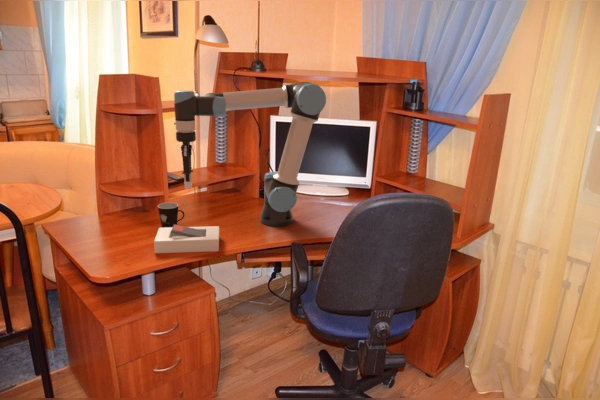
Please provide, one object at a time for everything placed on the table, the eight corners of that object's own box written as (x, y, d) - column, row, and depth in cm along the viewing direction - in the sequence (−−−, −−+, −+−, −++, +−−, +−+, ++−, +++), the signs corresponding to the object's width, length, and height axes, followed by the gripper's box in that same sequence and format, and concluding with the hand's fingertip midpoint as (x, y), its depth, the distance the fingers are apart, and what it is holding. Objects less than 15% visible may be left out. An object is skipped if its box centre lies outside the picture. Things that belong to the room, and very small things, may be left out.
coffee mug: (155, 226, 195) (154, 205, 191) (173, 222, 200) (172, 201, 197) (168, 234, 187) (167, 212, 184) (186, 229, 193) (185, 207, 189)
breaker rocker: (204, 233, 180) (205, 230, 180) (203, 239, 174) (204, 236, 174) (173, 226, 177) (173, 223, 177) (171, 233, 171) (171, 230, 171)
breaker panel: (219, 237, 186) (219, 226, 184) (218, 251, 172) (218, 239, 171) (160, 238, 182) (159, 227, 180) (154, 253, 169) (153, 241, 167)
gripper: (177, 128, 179) (180, 184, 187) (173, 133, 167) (177, 193, 174) (196, 128, 180) (198, 183, 188) (194, 133, 168) (196, 193, 175)
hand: (188, 188), depth 181 cm, fingers closed
